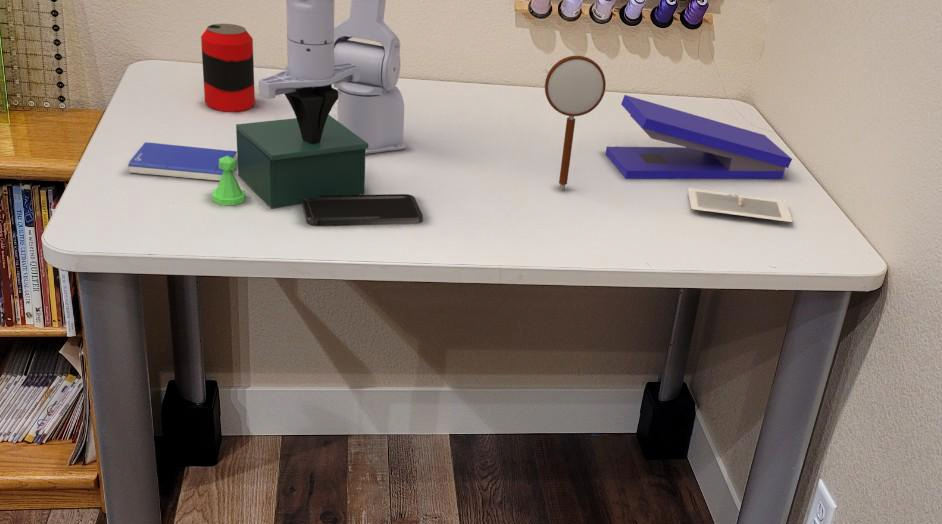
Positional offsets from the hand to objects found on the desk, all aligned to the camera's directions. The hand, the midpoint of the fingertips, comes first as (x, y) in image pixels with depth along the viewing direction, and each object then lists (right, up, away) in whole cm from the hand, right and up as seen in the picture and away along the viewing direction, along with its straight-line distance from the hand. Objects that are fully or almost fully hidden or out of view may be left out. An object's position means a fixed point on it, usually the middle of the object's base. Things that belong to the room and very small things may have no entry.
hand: (311, 141), depth 138 cm
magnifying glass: (+33, -4, +17) cm, 37 cm away
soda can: (-20, +11, +29) cm, 37 cm away
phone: (+7, -10, +1) cm, 12 cm away
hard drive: (-19, -3, +6) cm, 20 cm away
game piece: (-11, -8, -1) cm, 13 cm away
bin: (-3, -5, +6) cm, 8 cm away
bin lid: (-2, +1, +2) cm, 3 cm away
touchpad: (+59, -7, +18) cm, 62 cm away
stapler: (+54, +2, +32) cm, 63 cm away
